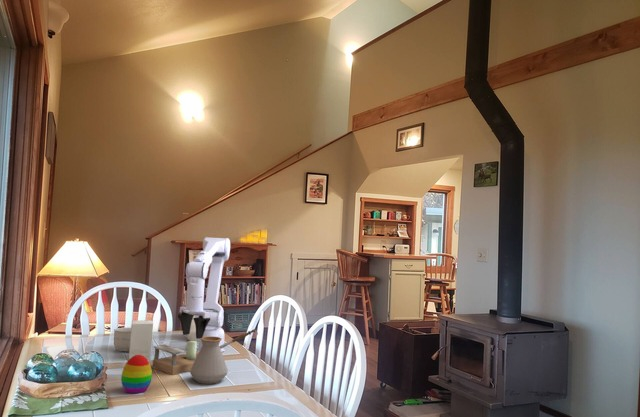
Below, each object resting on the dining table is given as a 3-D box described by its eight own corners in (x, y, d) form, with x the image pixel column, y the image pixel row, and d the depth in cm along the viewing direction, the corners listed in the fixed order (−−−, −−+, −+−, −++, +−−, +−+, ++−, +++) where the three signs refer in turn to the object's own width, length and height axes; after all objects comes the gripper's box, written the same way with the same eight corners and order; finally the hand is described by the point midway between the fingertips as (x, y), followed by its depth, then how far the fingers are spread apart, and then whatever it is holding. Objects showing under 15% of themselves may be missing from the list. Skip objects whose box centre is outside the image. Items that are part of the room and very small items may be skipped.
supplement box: (150, 359, 172) (153, 323, 173) (128, 360, 170) (131, 323, 170) (150, 354, 179) (153, 319, 180) (129, 355, 177) (131, 320, 177)
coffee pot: (195, 387, 144) (199, 336, 145) (185, 377, 154) (188, 329, 155) (262, 380, 155) (264, 332, 156) (248, 370, 165) (250, 325, 166)
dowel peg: (191, 363, 170) (193, 340, 170) (197, 365, 167) (198, 342, 168) (183, 365, 167) (184, 341, 168) (189, 367, 165) (190, 343, 165)
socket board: (197, 358, 177) (198, 339, 177) (218, 365, 169) (219, 345, 169) (152, 367, 163) (153, 346, 163) (172, 375, 155) (174, 352, 155)
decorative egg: (115, 394, 135) (118, 357, 135) (127, 385, 143) (129, 350, 144) (145, 395, 135) (147, 359, 135) (154, 386, 143) (157, 352, 144)
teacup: (106, 351, 181) (107, 329, 181) (127, 345, 191) (129, 324, 191) (135, 356, 176) (136, 333, 176) (156, 350, 186) (157, 329, 186)
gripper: (173, 294, 170) (170, 334, 170) (198, 300, 161) (195, 341, 160) (190, 293, 176) (187, 331, 175) (215, 298, 166) (212, 338, 166)
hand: (192, 336), depth 168 cm, fingers open, 7 cm apart
